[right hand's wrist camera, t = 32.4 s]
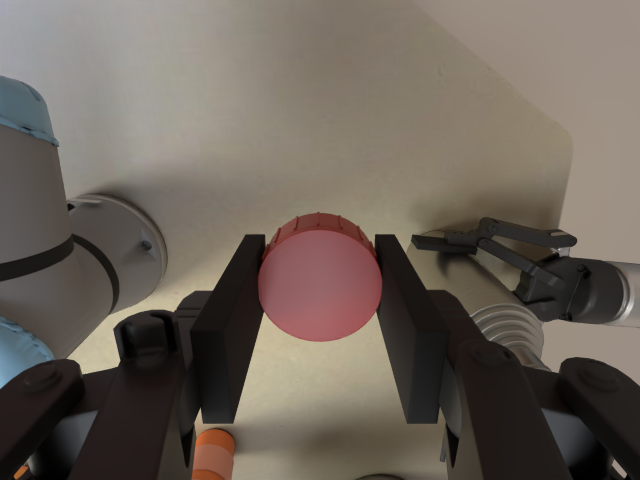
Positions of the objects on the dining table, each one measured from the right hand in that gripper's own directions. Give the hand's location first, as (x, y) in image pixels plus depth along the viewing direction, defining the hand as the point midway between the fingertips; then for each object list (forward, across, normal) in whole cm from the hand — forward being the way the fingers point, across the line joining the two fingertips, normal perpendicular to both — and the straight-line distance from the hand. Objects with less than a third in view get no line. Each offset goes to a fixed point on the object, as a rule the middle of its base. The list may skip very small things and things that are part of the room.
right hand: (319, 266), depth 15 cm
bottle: (+31, +15, -12) cm, 36 cm away
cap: (-2, 0, 0) cm, 2 cm away
